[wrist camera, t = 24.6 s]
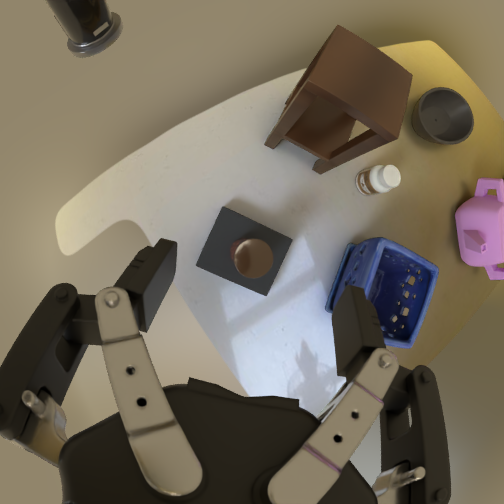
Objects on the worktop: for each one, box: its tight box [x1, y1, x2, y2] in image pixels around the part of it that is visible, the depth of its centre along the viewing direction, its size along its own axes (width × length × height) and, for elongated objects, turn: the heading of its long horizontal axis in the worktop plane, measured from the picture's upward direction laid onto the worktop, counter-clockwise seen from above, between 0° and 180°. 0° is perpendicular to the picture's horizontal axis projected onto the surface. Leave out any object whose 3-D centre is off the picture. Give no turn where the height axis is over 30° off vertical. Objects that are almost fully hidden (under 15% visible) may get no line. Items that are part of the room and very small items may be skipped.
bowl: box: [412, 87, 474, 145], centre depth 41 cm, size 12×22×6 cm, turn 117°
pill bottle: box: [356, 165, 401, 195], centre depth 39 cm, size 4×4×8 cm
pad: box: [196, 207, 292, 296], centre depth 39 cm, size 11×9×2 cm
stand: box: [264, 25, 413, 174], centre depth 30 cm, size 10×10×20 cm
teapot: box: [455, 177, 504, 280], centre depth 40 cm, size 19×18×15 cm
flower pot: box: [325, 237, 439, 348], centre depth 38 cm, size 13×13×12 cm
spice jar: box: [230, 238, 273, 278], centre depth 34 cm, size 4×4×8 cm
